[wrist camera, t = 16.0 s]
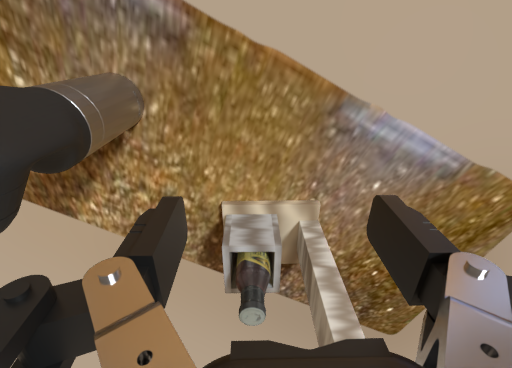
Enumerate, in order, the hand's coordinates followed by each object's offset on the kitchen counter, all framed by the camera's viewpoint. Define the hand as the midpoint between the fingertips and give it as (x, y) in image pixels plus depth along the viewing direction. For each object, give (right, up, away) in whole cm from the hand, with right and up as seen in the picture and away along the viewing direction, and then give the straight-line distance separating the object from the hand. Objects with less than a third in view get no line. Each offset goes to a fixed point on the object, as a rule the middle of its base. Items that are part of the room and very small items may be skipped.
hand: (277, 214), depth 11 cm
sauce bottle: (-2, -10, +46) cm, 47 cm away
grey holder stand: (+2, -9, +48) cm, 49 cm away
